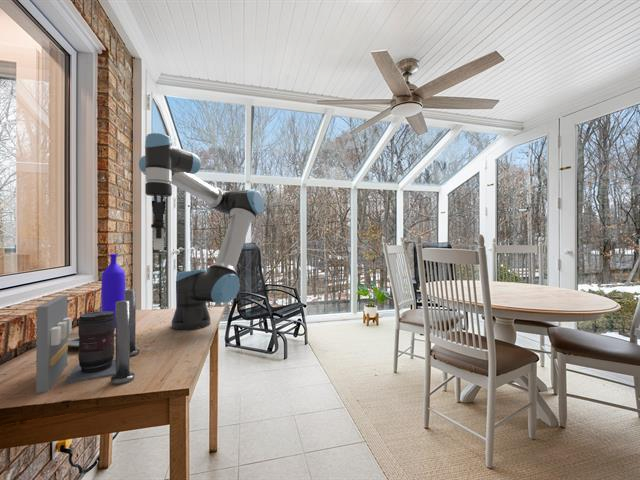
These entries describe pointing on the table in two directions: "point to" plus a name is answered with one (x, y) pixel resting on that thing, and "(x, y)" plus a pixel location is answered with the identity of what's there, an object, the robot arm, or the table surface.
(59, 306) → the breaker panel
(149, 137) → the robot arm
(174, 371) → the table surface
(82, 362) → the camera lens
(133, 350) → the post
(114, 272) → the bottle
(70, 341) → the electrical outlet
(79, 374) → the pad
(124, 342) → the post
